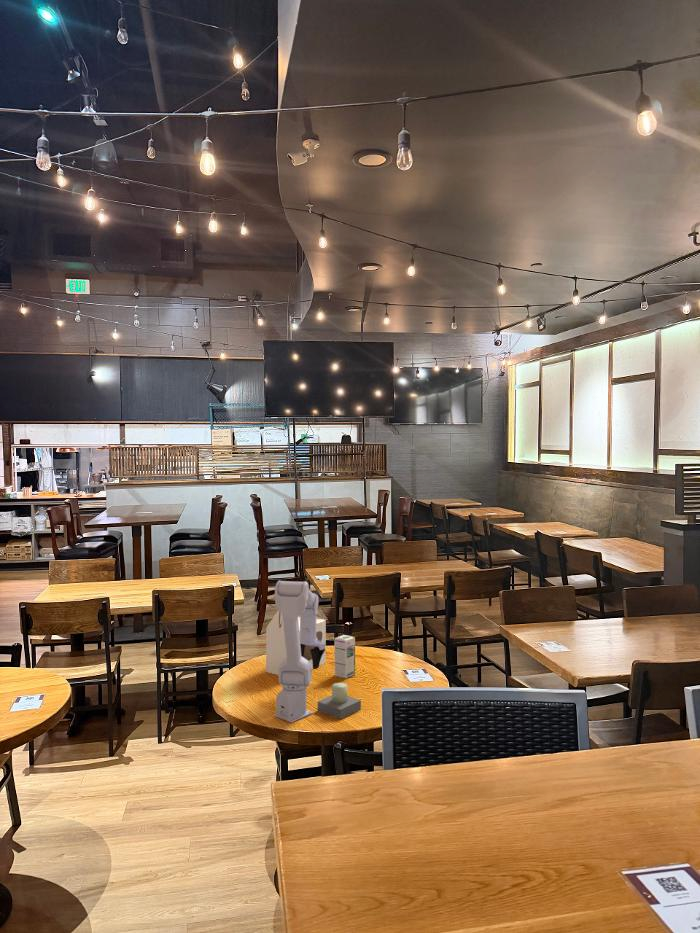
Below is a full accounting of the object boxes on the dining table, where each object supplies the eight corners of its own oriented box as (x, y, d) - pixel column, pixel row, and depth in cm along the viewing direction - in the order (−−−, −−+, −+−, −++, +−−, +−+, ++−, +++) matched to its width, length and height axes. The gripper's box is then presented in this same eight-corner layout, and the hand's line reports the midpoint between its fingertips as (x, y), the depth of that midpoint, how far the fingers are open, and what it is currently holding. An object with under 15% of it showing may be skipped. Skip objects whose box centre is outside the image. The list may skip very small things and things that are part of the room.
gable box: (299, 657, 255) (300, 589, 255) (326, 662, 248) (326, 593, 248) (265, 672, 236) (265, 599, 236) (292, 679, 229) (293, 604, 229)
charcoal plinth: (340, 719, 194) (340, 709, 194) (317, 710, 200) (317, 701, 200) (360, 709, 202) (360, 700, 201) (338, 701, 208) (338, 692, 208)
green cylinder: (340, 705, 198) (340, 689, 197) (328, 701, 201) (328, 685, 201) (350, 700, 201) (350, 685, 201) (338, 696, 205) (339, 681, 205)
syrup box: (346, 678, 230) (346, 640, 230) (333, 675, 233) (334, 637, 233) (355, 674, 234) (355, 636, 234) (343, 671, 238) (343, 634, 238)
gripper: (331, 628, 214) (330, 667, 214) (301, 621, 223) (301, 658, 224) (317, 632, 209) (316, 672, 209) (287, 625, 218) (287, 663, 218)
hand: (308, 665), depth 216 cm, fingers open, 7 cm apart
